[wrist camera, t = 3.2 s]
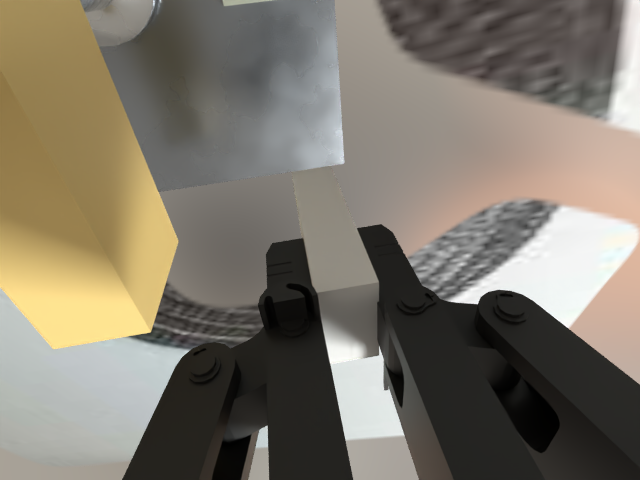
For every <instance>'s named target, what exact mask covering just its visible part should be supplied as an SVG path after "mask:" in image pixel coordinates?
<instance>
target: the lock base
mask: <svg viewBox="0 0 640 480" xmlns="http://www.w3.org/2000/svg"><path fill="white" fill-rule="evenodd" d="M80 2H81V4H82V7H83V9H84V12H85V14H86V17H87V19H88V22H89V24H90V26H91V29H92V31H93V34H94V36H95V39H96V41H97V44H98V46H99V48H100V51H101V53H102V56H103V58H104V61H105V63H106V66H107V68H108V70H109V73H110V75H111V78H112V80H113V83H114V85H115V87H116V90H117V92H118V95H119V97H120V100H121V102H122V105H123V107H124V109H125V112H126V114H127V117H128V119H129V122H130V124H131V127H132V129H133V131H134V134H135V136H136V139H137V141H138V144H139V146H140V149H141V151H142V153H143V156H144V158H145V161H146V163H147V166H148V168H149V171H150V173H151V175H152V178H153V180H154V183H155V185H156V188H157V190H158V192H161V191H168V190H174V189H181V188H187V187H194V186H201V185H207V184H214V183H220V182H227V181H233V180H240V179H247V178H253V177H260V176H266V175H273V174H280V173H286V172H293V171H300V170H306V169H313V168H319V167H326V166H333V165H339V164H344V151H343V135H342V120H341V119H342V118H341V102H340V86H339V69H338V52H337V36H336V19H335V3H334V0H80Z"/></svg>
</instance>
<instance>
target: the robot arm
mask: <svg viewBox="0 0 640 480" xmlns="http://www.w3.org/2000/svg"><path fill="white" fill-rule="evenodd" d="M292 178H293V185H294V191H295V198H296V204H297V210H298V217H299V223H300V229H301V235H302V238H301V239H295V240H289V241H283V242H277V243H272V245H271V246H270V248H269V250H268V252H267V254H266V263H267V289H266V290H265V291H264V293H263V294H262V295H261V297H260V299H259V303H258V307H259V311H260V314H261V318H262V321H263V325H264V327H263V328H262V329H261V331H260V332H259V333H258V334H256V335H255V336H254V337H253V338H251V339H249V340H248V341H246V342H244V343H242V344H240V345H237V346H235V347H233V348H231V349H230V348H229V347H228V346H226V345H225V344H221V343H216V342H213V343H207V344H202V345H200V346H198V347H196V348H193V349H192V350H190V351H189V352H188V353H187V354H185V355H184V356H183V357H182V358H181V360H180V361H179V363H178V364H177V366H176V367H175V369H174V371H173V373H172V375H171V378H170V380H169V382H168V384H167V386H166V388H165V390H164V392H163V394H162V397H161V399H160V401H159V403H158V405H157V407H156V409H155V411H154V414H153V416H152V418H151V420H150V422H149V424H148V426H147V428H146V431H145V433H144V435H143V437H142V439H141V441H140V443H139V445H138V447H137V450H136V452H135V454H134V456H133V458H132V460H131V462H130V464H129V467H128V469H127V471H126V473H125V475H124V477H123V479H122V480H248V477H249V473H250V469H251V464H252V459H253V455H254V451H255V446H256V442H257V437H258V433H259V430H260V429H261V428H263V427H265V426H267V425H268V450H269V480H353V477H352V472H351V466H350V461H349V456H348V451H347V447H346V441H345V436H344V431H343V426H342V421H341V416H340V411H339V406H338V401H337V396H336V391H335V386H334V381H333V376H332V371H331V366H330V364H335V363H340V362H346V361H351V360H356V359H362V358H367V357H373V356H378V355H379V346H380V349H381V352H382V355H383V358H384V390H388V386H389V389H390V392H391V395H392V398H393V401H394V404H395V407H396V410H397V413H398V416H399V419H400V422H401V426H402V429H403V432H404V435H405V438H406V441H407V444H408V447H409V450H410V453H411V456H412V459H413V462H414V465H415V468H416V471H417V474H418V477H419V480H640V385H639V384H638V383H637V382H636V381H634V380H633V379H632V378H630V377H629V376H628V375H627V374H625V373H624V372H623V371H622V370H620V369H619V368H618V367H617V366H615V365H614V364H613V363H611V362H610V361H609V360H608V359H606V358H605V357H604V356H602V355H601V354H600V353H599V352H597V351H596V350H595V349H594V348H592V347H591V346H590V345H588V344H587V343H586V342H585V341H583V340H582V339H581V338H580V337H578V336H577V335H576V334H574V333H573V332H572V331H571V330H569V329H568V328H567V327H565V326H564V325H563V324H562V323H560V322H559V321H558V320H557V319H555V318H554V317H553V316H551V315H550V314H549V313H548V312H546V311H545V310H544V309H543V308H541V307H540V306H539V305H537V304H536V303H535V302H534V301H532V300H530V299H529V298H527V297H525V296H524V295H522V294H519V293H515V292H512V291H505V290H496V291H491V292H488V293H486V294H485V295H483V296H482V297H481V298H480V301H479V303H478V304H465V303H454V302H448V301H444V300H441V299H440V298H439V297H438V296H437V295H436V294H435V293H434V292H433V291H431V290H429V289H428V288H426V287H423V286H422V285H421V283H420V281H419V279H418V278H417V276H416V274H415V272H414V270H413V269H412V267H411V265H410V263H409V261H408V259H407V258H406V256H405V254H404V253H403V250H402V249H401V247H400V245H398V242H397V240H396V238H395V236H394V234H393V233H392V232H391V231H390V230H389V229H387V228H386V227H384V226H383V225H381V224H380V225H374V226H368V227H362V228H356V226H355V223H354V221H353V218H352V216H351V213H350V211H349V209H348V206H347V204H346V201H345V199H344V196H343V194H342V192H341V189H340V187H339V185H338V182H337V180H336V177H335V175H334V172H333V170H332V168H331V166H326V167H320V168H313V169H307V170H300V171H293V172H292Z"/></svg>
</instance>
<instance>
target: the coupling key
mask: <svg viewBox="0 0 640 480" xmlns="http://www.w3.org/2000/svg"><path fill="white" fill-rule="evenodd" d="M177 245H178V239H177V236H176V234H175V232H174V229H173V227H172V224H171V222H170V219H169V217H168V215H167V212H166V210H165V207H164V205H163V202H162V200H161V197H160V195H159V192H158V190H157V188H156V185H155V183H154V180H153V178H152V175H151V173H150V171H149V168H148V166H147V163H146V161H145V158H144V156H143V153H142V151H141V149H140V146H139V144H138V141H137V139H136V136H135V134H134V131H133V129H132V127H131V124H130V122H129V119H128V117H127V114H126V112H125V109H124V107H123V105H122V102H121V100H120V97H119V95H118V92H117V90H116V87H115V85H114V83H113V80H112V78H111V75H110V73H109V70H108V68H107V66H106V63H105V61H104V58H103V56H102V53H101V51H100V48H99V46H98V44H97V41H96V39H95V36H94V34H93V31H92V29H91V26H90V24H89V22H88V19H87V17H86V14H85V12H84V9H83V7H82V4H81V2H80V0H0V287H1V289H2V290H3V291H4V292H5V293H6V294H7V296H8V297H9V298H10V299H11V300H12V301H13V303H14V304H15V305H16V306H17V307H18V308H19V310H20V311H21V312H22V313H23V314H24V315H25V317H26V318H27V319H28V320H29V321H30V323H31V324H32V325H33V326H34V327H35V328H36V330H37V331H38V332H39V333H40V334H41V335H42V337H43V338H44V339H45V340H46V341H47V342H48V344H49V345H50V346H51V347H52V348H53V349H57V348H63V347H69V346H75V345H80V344H86V343H92V342H97V341H103V340H109V339H115V338H120V337H126V336H132V335H138V334H143V333H149V332H151V330H152V327H153V323H154V320H155V317H156V313H157V310H158V307H159V304H160V300H161V297H162V294H163V290H164V287H165V284H166V281H167V277H168V274H169V271H170V267H171V264H172V261H173V258H174V254H175V251H176V248H177Z"/></svg>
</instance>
